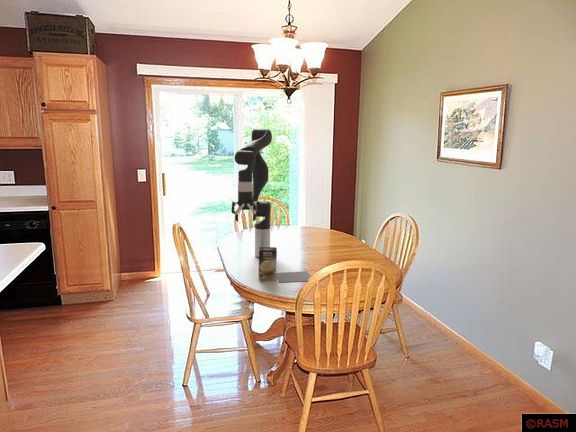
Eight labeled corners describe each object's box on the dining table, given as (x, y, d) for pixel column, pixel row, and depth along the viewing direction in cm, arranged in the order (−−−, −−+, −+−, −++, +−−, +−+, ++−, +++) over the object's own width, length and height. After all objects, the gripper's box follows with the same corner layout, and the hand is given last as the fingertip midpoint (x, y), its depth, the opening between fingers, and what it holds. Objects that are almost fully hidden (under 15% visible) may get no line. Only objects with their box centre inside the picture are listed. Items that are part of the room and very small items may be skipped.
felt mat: (274, 273, 219) (274, 272, 219) (307, 271, 222) (307, 271, 222) (279, 282, 205) (279, 282, 205) (313, 280, 209) (314, 280, 209)
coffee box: (258, 280, 208) (258, 250, 205) (258, 276, 214) (258, 246, 211) (276, 280, 208) (276, 250, 205) (276, 276, 215) (276, 246, 211)
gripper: (258, 189, 216) (258, 219, 219) (230, 189, 213) (231, 220, 216) (260, 191, 209) (260, 222, 212) (232, 191, 206) (232, 223, 209)
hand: (245, 221), depth 214 cm, fingers open, 8 cm apart
